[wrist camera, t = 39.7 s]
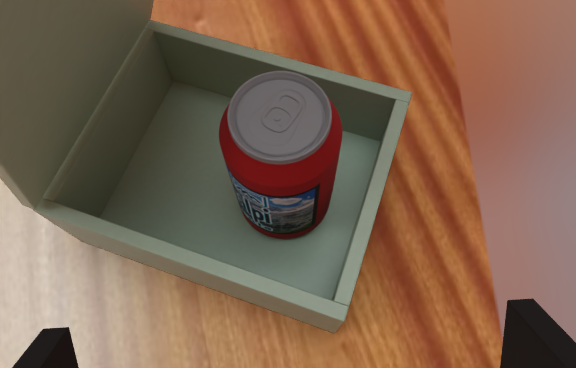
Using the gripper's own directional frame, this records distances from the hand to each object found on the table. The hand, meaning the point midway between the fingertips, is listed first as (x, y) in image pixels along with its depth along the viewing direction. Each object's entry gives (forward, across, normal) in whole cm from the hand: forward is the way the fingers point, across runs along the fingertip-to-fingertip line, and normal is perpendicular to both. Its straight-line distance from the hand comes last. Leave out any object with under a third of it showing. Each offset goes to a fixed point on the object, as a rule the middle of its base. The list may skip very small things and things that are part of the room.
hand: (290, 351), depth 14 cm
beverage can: (+21, 0, -3) cm, 21 cm away
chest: (+22, -3, -2) cm, 23 cm away
